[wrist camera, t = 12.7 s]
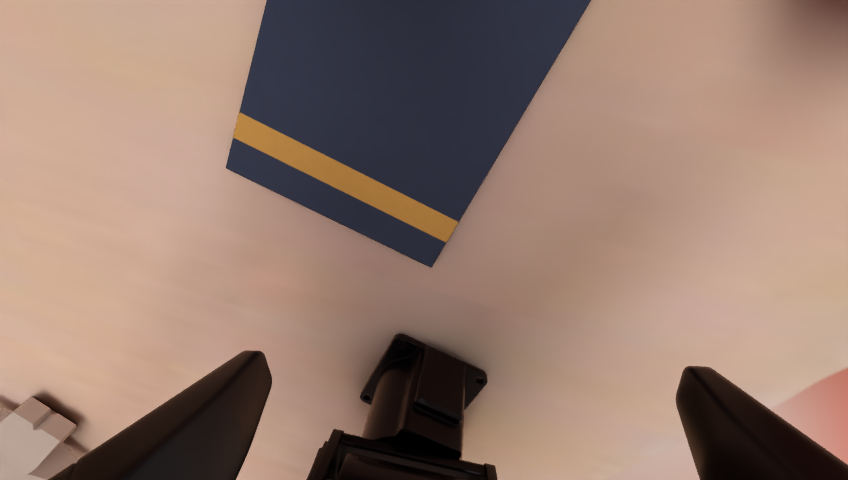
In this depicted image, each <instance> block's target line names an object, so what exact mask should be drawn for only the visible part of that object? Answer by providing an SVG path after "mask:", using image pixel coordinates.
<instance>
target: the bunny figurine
mask: <svg viewBox="0 0 848 480" xmlns="http://www.w3.org/2000/svg"><path fill="white" fill-rule="evenodd" d="M76 428H77V426H76V425H75V424H74V423H72V422H71V421H69V420H68V419H66V418H64V417H63V416H61V415H60V414H57V413H56V412H54V411H53V410H51V409H50V408H49V407H47V406H46V405H44V404H42V403H41V402H39V401H38V400H36V399H35V398H33V397H30V398H29V399H28V400H26V401H25V402H24V403H23V404H21V405H20V406H19V407H18V408H16V409H15V410H14V411H9V410H6V409H3V408H0V480H48V479H50V478H51V477H53V476H54V475H56V474H57V473H59V472H60V471H62V470H63V469H65V468H66V467H68V466H69V465H71V464H72V463H77V461H78V459H77V458H76V456H75V455H74V454H73V453H72V452H71V451H70V450H69V448H68V447H67V446H66V445H65V444H64V442H63V441H64V440H65V439H66V438H67V437H68V436H69V435H70V434H71V433H72V432H73V431H74V430H75V429H76Z"/></svg>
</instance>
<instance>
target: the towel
mask: <svg viewBox="0 0 848 480" xmlns="http://www.w3.org/2000/svg"><path fill="white" fill-rule="evenodd" d="M590 1H591V0H267V2H266V6H265V10H264V14H263V18H262V22H261V26H260V30H259V34H258V39H257V43H256V47H255V51H254V55H253V59H252V63H251V67H250V71H249V75H248V79H247V83H246V87H245V92H244V96H243V100H242V104H241V108H240V112H239V115H238V119H237V123H236V128H235V132H234V136H233V140H232V145H231V149H230V153H229V157H228V161H227V165H226V168H227V169H229V170H231V171H233V172H235V173H237V174H239V175H241V176H243V177H245V178H247V179H249V180H251V181H253V182H255V183H258V184H260V185H262V186H264V187H266V188H268V189H270V190H272V191H274V192H276V193H278V194H280V195H282V196H284V197H286V198H289V199H291V200H293V201H295V202H297V203H299V204H301V205H303V206H305V207H307V208H309V209H311V210H313V211H315V212H317V213H319V214H322V215H324V216H326V217H328V218H330V219H332V220H334V221H336V222H338V223H340V224H342V225H344V226H346V227H348V228H350V229H353V230H355V231H357V232H359V233H361V234H363V235H365V236H367V237H369V238H371V239H373V240H375V241H377V242H379V243H381V244H383V245H386V246H388V247H390V248H392V249H394V250H396V251H398V252H400V253H402V254H404V255H406V256H408V257H410V258H412V259H414V260H417V261H419V262H421V263H423V264H425V265H427V266H429V267H432V266H433V264H434V262H435V261H436V259H437V257H438V256H439V254H440V252H441V251H442V249H443V247H444V246H445V244H446V242H447V241H448V239H449V237H450V236H451V234H452V232H453V231H454V229H455V227H456V226H457V224H458V222H459V220H460V219H461V217H462V215H463V214H464V212H465V210H466V209H467V207H468V205H469V204H470V202H471V200H472V199H473V197H474V195H475V194H476V192H477V190H478V189H479V187H480V185H481V184H482V182H483V180H484V179H485V177H486V175H487V174H488V172H489V170H490V169H491V167H492V165H493V164H494V162H495V160H496V158H497V157H498V155H499V153H500V152H501V150H502V148H503V147H504V145H505V143H506V142H507V140H508V138H509V137H510V135H511V133H512V132H513V130H514V128H515V127H516V125H517V123H518V122H519V120H520V118H521V117H522V115H523V113H524V112H525V110H526V108H527V107H528V105H529V103H530V102H531V100H532V98H533V96H534V95H535V93H536V91H537V90H538V88H539V86H540V85H541V83H542V81H543V80H544V78H545V76H546V75H547V73H548V71H549V70H550V68H551V66H552V65H553V63H554V61H555V60H556V58H557V56H558V55H559V53H560V51H561V50H562V48H563V46H564V45H565V43H566V41H567V40H568V38H569V36H570V35H571V33H572V31H573V29H574V28H575V26H576V24H577V23H578V21H579V19H580V18H581V16H582V14H583V13H584V11H585V9H586V8H587V6H588V4H589V3H590Z"/></svg>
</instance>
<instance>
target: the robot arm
mask: <svg viewBox="0 0 848 480" xmlns="http://www.w3.org/2000/svg"><path fill="white" fill-rule="evenodd" d="M399 341H401V342H403V343H399ZM478 378H482V379H478ZM486 384H487V374H486V373H485V372H484V371H482V370H480V369H478V368H476V367H473V366H471V365H469V364H467V363H465V362H463V361H460V360H458V359H456V358H454V357H452V356H450V355H447V354H445V353H443V352H441V351H439V350H437V349H435V348H432V347H430V346H428V345H426V344H424V343H422V342H419V341H417V340H415V339H413V338H411V337H409V336H406V335H404V334H397V335H395V336H394V338H393V340H392V341H391V343H390V345H389V346H388V348H387V350H386V351H385V353H384V355H383V356H382V358H381V359H380V361H379V363H378V364H377V366H376V368H375V369H374V371H373V373H372V374H371V376H370V378H369V379H368V381H367V383H366V384H365V386H364V388H363V389H362V392H361V395H360V399H361V400H362V401H363V402H365V403H367V404H370V405H371V407H370V410H369V414H368V417H367V420H366V424H365V427H364V431H363V434H362V437H359V436H355V435H351V434H346V433H344V431H341V430H337V429H334V430H333V432H332V434H331V436H330V438H329V441H328V442H327V441H325V443H324V445H323V447H322V448H319V450H318V453H317V456H316V458H315V461H314V463H313V466H312V468H311V471H310V473H309V475H308V478H307V479H306V480H497V474H496V468H495V466H494V465H490V464H484V465H481V464H477V463H473V462H468V461H464V460H462V449H463V427H464V410H465V409H466V408H467V407H468V405H469V404H470V403H471V402H472V401H473V399H474V398H475V397H476V396H477V395H478V393H479V392H480V391H481V390H482V389H483V387H484V386H485V385H486ZM271 385H272V376H271V373H270V370H269V367H268V364H267V361H266V358H265V355H264V353H263V352H261V351H243V352H241V353H240V354H238V355H237V356H235V357H234V358H232V359H231V360H229V361H228V362H226V363H225V364H223V365H222V366H220V367H219V368H217V369H215V370H214V371H212V372H211V373H209V374H208V375H206V376H205V377H203V378H202V379H200V380H199V381H197V382H196V383H194V384H193V385H191V386H190V387H188V388H187V389H185V390H184V391H182V392H181V393H179V394H177V395H176V396H174V397H173V398H171V399H170V400H168V401H167V402H165V403H164V404H162V405H161V406H159V407H158V408H156V409H155V410H153V411H152V412H150V413H149V414H147V415H146V416H144V417H142V418H141V419H139V420H138V421H136V422H135V423H133V424H132V425H130V426H129V427H127V428H126V429H124V430H123V431H121V432H120V433H118V434H117V435H115V436H114V437H112V438H111V439H109V440H107V441H106V442H104V443H103V444H101V445H100V446H98V447H97V448H95V449H94V450H92V451H91V452H89V453H88V454H86V455H85V456H83V457H82V458H80V459H79V460H78V461H77V463H72V464H71V465H69V466H68V467H66V468H65V469H63V470H62V471H60V472H59V473H57V474H56V475H54V476H53V477H51V478H50V479H48V480H236V478H237V476H238V474H239V471H240V469H241V467H242V465H243V463H244V460H245V458H246V456H247V454H248V451H249V449H250V446H251V443H252V441H253V438H254V435H255V432H256V429H257V426H258V424H259V421H260V418H261V415H262V412H263V409H264V406H265V403H266V401H267V398H268V395H269V392H270V389H271ZM368 395H369V396H368ZM676 405H677V409H678V412H679V415H680V418H681V422H682V425H683V428H684V431H685V434H686V437H687V440H688V444H689V447H690V450H691V453H692V456H693V459H694V463H695V466H696V469H697V472H698V475H699V477H700V480H848V465H847V464H846V463H844V462H843V461H841V460H840V459H839V458H837V457H836V456H834V455H833V454H832V453H830V452H829V451H827V450H826V449H825V448H823V447H822V446H820V445H819V444H817V443H816V442H815V441H813V440H812V439H810V438H809V437H808V436H806V435H805V434H803V433H802V432H800V431H799V430H798V429H796V428H795V427H793V426H792V425H791V424H789V423H788V422H786V421H785V420H784V419H782V418H781V417H779V416H778V415H777V414H775V413H774V412H772V411H771V410H770V409H768V408H767V407H765V406H764V405H763V404H761V403H760V402H758V401H757V400H755V399H754V398H753V397H751V396H750V395H748V394H747V393H746V392H744V391H743V390H741V389H740V388H739V387H737V386H736V385H734V384H733V383H731V382H730V381H729V380H727V379H726V378H724V377H723V376H722V375H720V374H719V373H717V372H716V371H715V370H713V369H711V368H709V367H702V366H688V367H686V368H685V369H684V370H683V373H682V376H681V380H680V383H679V387H678V390H677V393H676Z"/></svg>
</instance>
